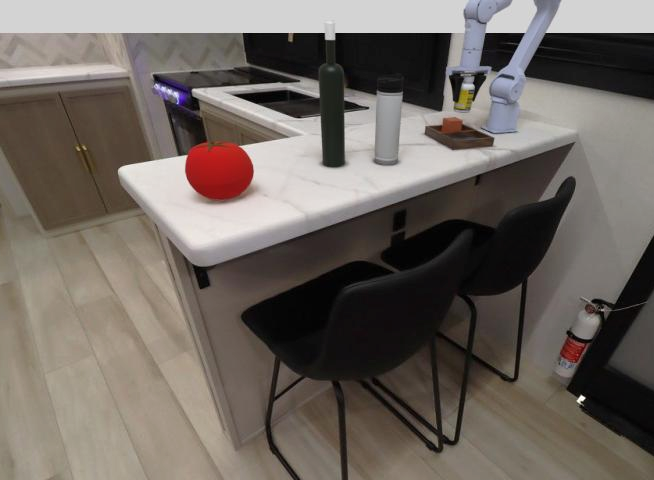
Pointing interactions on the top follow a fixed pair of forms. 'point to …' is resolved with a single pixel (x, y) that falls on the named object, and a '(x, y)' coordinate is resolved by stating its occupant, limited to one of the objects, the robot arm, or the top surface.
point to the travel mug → (388, 118)
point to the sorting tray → (460, 137)
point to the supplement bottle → (465, 95)
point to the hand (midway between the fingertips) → (463, 101)
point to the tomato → (219, 170)
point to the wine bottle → (332, 104)
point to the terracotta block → (451, 124)
